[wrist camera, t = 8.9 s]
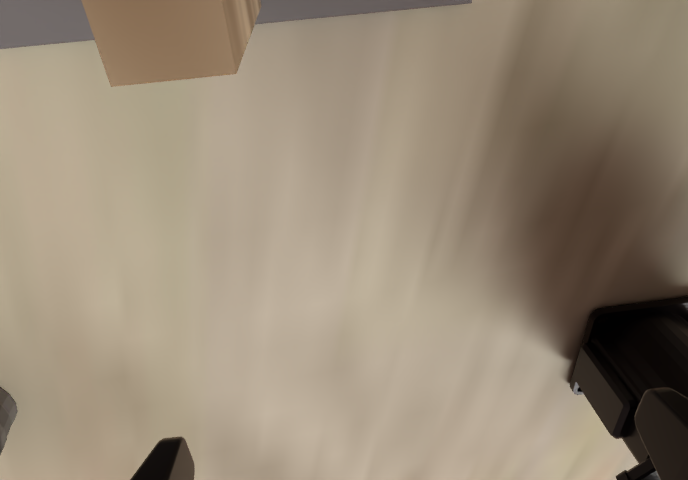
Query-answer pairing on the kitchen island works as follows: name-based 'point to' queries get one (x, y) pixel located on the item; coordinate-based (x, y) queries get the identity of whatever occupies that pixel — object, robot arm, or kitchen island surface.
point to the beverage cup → (6, 416)
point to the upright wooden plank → (170, 37)
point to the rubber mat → (72, 25)
